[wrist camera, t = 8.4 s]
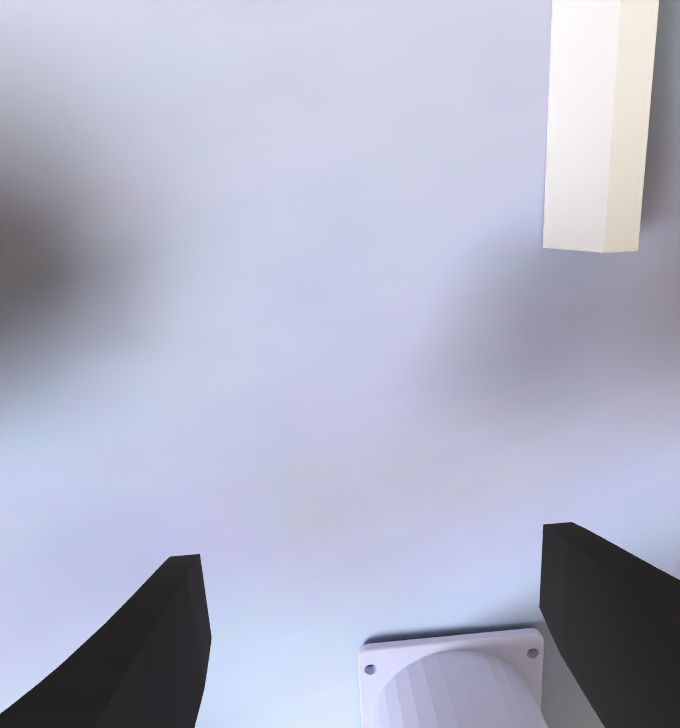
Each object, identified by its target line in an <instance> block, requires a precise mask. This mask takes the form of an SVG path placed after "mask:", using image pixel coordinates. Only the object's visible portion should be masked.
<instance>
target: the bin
mask: <svg viewBox="0 0 680 728" xmlns="http://www.w3.org/2000/svg"><path fill="white" fill-rule="evenodd" d="M658 7H659V0H552V25H551V50H550V76H549V101H548V127H547V152H546V177H545V203H544V228H543V248H553V249H565V250H576V251H588V252H600V253H609V252H625V251H638V244H639V233H640V221H641V209H642V197H643V185H644V173H645V161H646V149H647V138H648V126H649V114H650V102H651V90H652V78H653V66H654V55H655V43H656V31H657V19H658Z"/></svg>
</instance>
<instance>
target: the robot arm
mask: <svg viewBox="0 0 680 728" xmlns="http://www.w3.org/2000/svg"><path fill="white" fill-rule="evenodd" d="M539 607H540V610H541V612H542V614H543V616H544V619H545V621H546V623H547V626H548V628H549V630H550V633H551V635H552V637H553V639H554V641H555V643H556V645H557V647H558V650H559V652H560V654H561V656H562V657H563V659H564V661H565V662H566V664H567V666H568V667H569V669H570V671H571V672H572V674H573V676H574V677H575V679H576V681H577V682H578V684H579V686H580V687H581V689H582V691H583V692H584V694H585V696H586V697H587V699H588V700H589V702H590V704H591V705H592V707H593V709H594V710H595V712H596V714H597V715H598V717H599V718H600V720H601V722H602V723H603V725H604V727H605V728H680V580H679V579H677V578H675V577H673V576H671V575H669V574H667V573H665V572H663V571H662V570H660V569H658V568H656V567H654V566H652V565H651V564H649V563H647V562H645V561H643V560H641V559H640V558H638V557H636V556H634V555H632V554H631V553H629V552H627V551H625V550H623V549H622V548H620V547H618V546H616V545H615V544H613V543H611V542H609V541H607V540H606V539H604V538H602V537H600V536H598V535H596V534H595V533H593V532H591V531H589V530H587V529H585V528H583V527H581V526H579V525H577V524H575V523H572V522H567V523H556V524H544V525H543V543H542V564H541V585H540V606H539ZM211 638H212V637H211V630H210V623H209V616H208V609H207V602H206V595H205V587H204V580H203V573H202V566H201V559H200V554H195V555H184V556H172V557H169V558H168V559H167V560H166V561H165V562H164V563H163V564H162V565H161V566H160V567H159V568H158V569H157V570H156V571H155V572H154V574H153V575H152V576H151V577H150V578H149V579H148V580H147V581H146V582H145V583H144V584H143V585H142V586H141V587H140V588H139V589H138V590H137V591H136V592H135V594H134V595H133V596H132V597H131V598H130V599H129V600H128V601H127V602H126V603H125V604H124V605H123V606H122V607H121V608H120V609H119V610H118V611H117V612H116V613H115V614H114V615H113V616H112V617H111V618H110V619H109V620H108V621H107V622H106V623H105V624H104V625H103V626H102V627H101V628H100V629H99V630H98V631H97V632H96V633H94V634H93V635H92V636H91V637H90V638H89V639H88V640H87V641H86V642H85V643H84V644H83V645H82V646H80V647H79V648H78V649H77V650H76V651H75V652H74V653H73V654H72V655H71V656H70V657H69V658H68V659H66V660H65V661H64V662H63V663H62V664H61V665H60V666H59V667H58V668H56V669H55V670H54V671H53V672H52V673H51V674H49V675H48V676H47V677H46V678H45V679H43V680H42V681H41V682H40V683H39V684H37V685H36V686H35V687H34V688H33V689H31V690H30V691H29V692H27V693H26V694H25V695H24V696H22V697H21V698H20V699H19V700H17V701H16V702H15V703H14V704H12V705H11V706H10V707H9V708H7V709H6V710H5V711H3V712H2V713H1V714H0V728H194V727H195V723H196V719H197V715H198V712H199V708H200V704H201V700H202V696H203V692H204V687H205V681H206V674H207V668H208V661H209V653H210V646H211ZM533 648H534V649H533ZM530 649H533V650H532V651H529V650H530ZM528 651H529V652H528ZM543 657H544V638H543V636H542V635H541V633H540V632H539V630H537V629H535V628H525V629H515V630H505V631H494V632H484V633H474V634H463V635H453V636H443V637H432V638H422V639H412V640H401V641H391V642H381V643H370V644H365V645H363V646H362V647H360V649H359V650H358V654H357V658H358V674H359V691H360V708H361V725H362V728H548V726H547V724H546V722H545V719H544V717H543V715H542V713H541V698H542V677H543ZM370 664H371V665H374V666H372V667H366V666H367V665H370Z"/></svg>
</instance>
